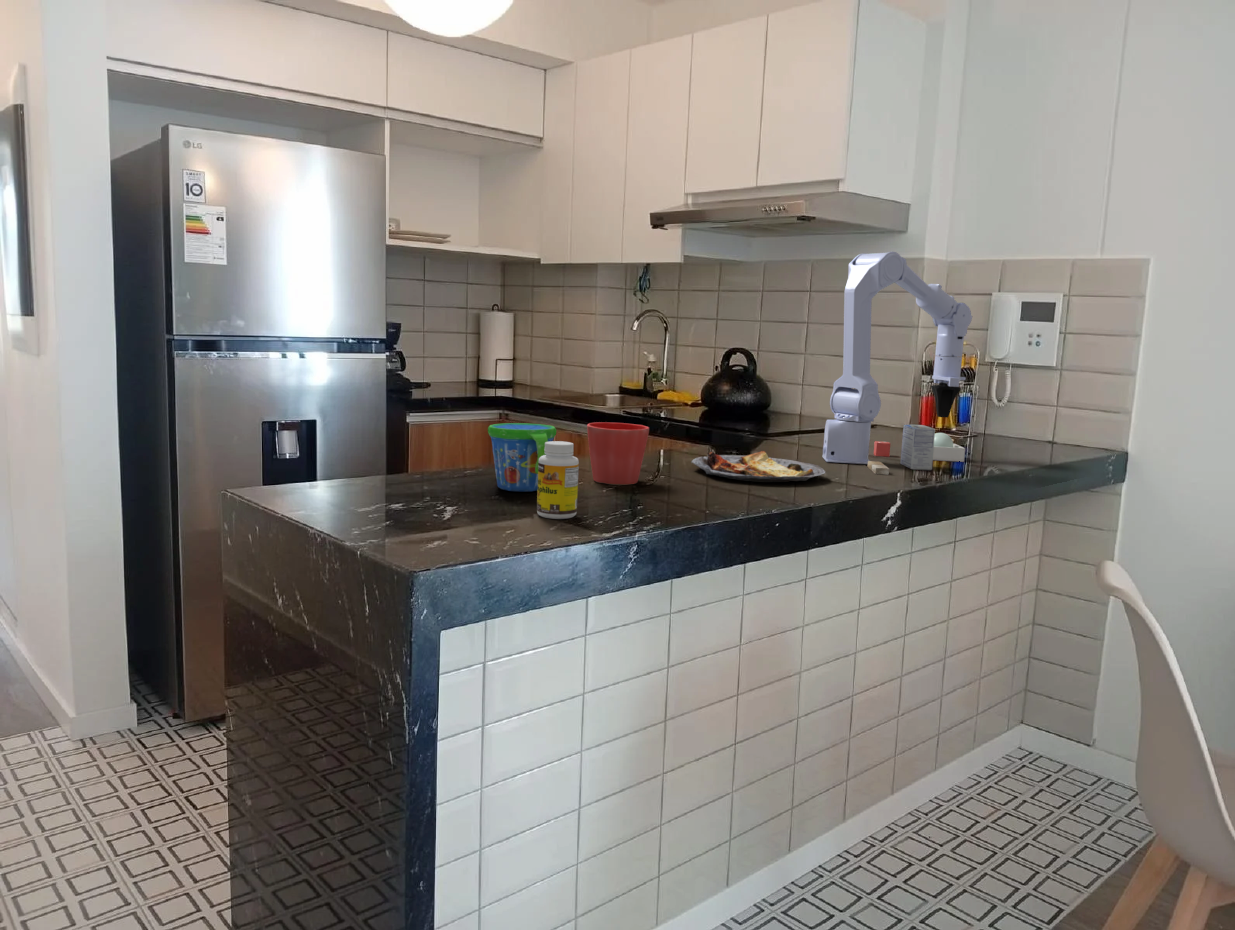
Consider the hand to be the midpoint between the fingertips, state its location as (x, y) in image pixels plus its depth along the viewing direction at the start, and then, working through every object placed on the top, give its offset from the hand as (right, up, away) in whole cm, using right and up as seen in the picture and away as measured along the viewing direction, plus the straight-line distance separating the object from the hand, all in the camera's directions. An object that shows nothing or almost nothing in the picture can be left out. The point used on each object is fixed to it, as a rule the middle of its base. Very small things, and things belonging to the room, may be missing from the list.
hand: (942, 417), depth 209 cm
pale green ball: (0, -9, +1) cm, 9 cm away
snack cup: (-89, -15, -61) cm, 109 cm away
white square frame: (0, -9, +1) cm, 9 cm away
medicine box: (-11, -12, -15) cm, 22 cm away
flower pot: (-74, -14, -49) cm, 90 cm away
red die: (-13, -9, +2) cm, 16 cm away
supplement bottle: (-82, -18, -80) cm, 116 cm away
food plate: (-47, -13, -35) cm, 60 cm away
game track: (-21, -12, -23) cm, 33 cm away
